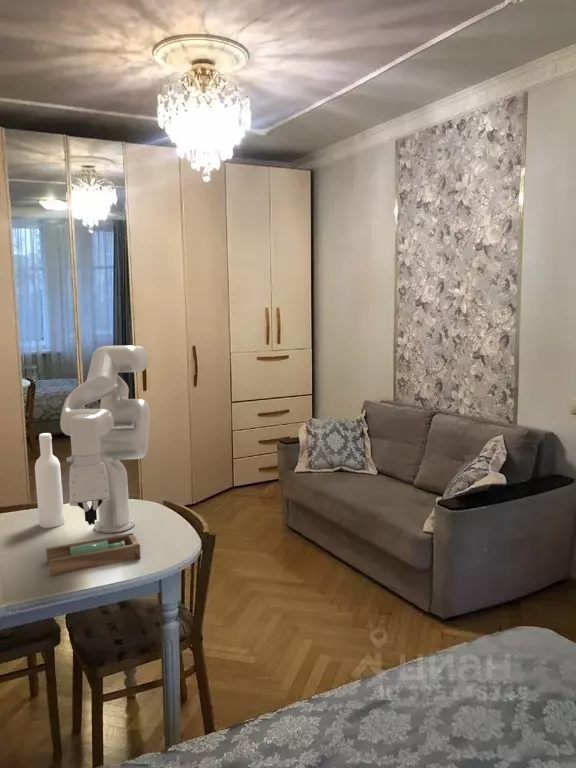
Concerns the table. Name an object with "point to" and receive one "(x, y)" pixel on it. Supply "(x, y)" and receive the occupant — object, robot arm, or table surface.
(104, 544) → the bottle
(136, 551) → the u rest
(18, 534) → the table surface
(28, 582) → the table surface
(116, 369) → the robot arm
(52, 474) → the bottle
